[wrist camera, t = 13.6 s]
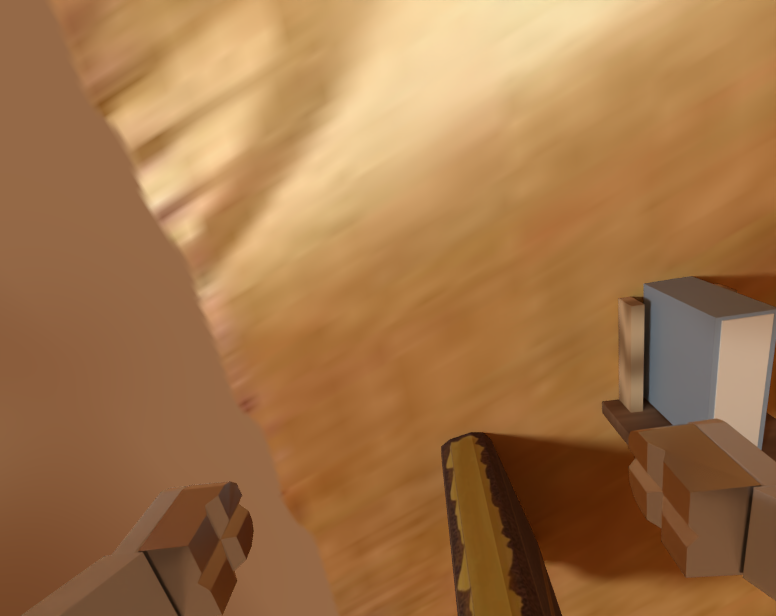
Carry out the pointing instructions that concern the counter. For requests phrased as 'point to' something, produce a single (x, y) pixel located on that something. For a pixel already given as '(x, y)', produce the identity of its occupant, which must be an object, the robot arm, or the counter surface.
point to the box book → (708, 354)
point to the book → (491, 536)
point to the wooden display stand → (631, 404)
